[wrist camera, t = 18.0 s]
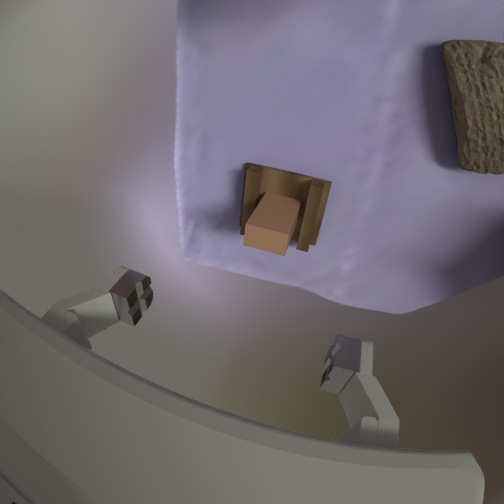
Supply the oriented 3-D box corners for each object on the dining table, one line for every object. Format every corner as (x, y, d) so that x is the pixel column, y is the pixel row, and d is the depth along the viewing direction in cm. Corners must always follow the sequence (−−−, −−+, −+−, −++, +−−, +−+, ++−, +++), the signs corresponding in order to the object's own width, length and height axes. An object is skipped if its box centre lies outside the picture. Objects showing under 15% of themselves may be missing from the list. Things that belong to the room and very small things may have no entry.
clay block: (263, 210, 51) (243, 244, 42) (266, 192, 48) (245, 223, 40) (297, 218, 50) (284, 255, 41) (301, 200, 47) (289, 234, 39)
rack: (240, 223, 55) (234, 232, 52) (247, 162, 47) (240, 168, 45) (315, 243, 52) (313, 253, 50) (331, 181, 45) (330, 189, 42)
